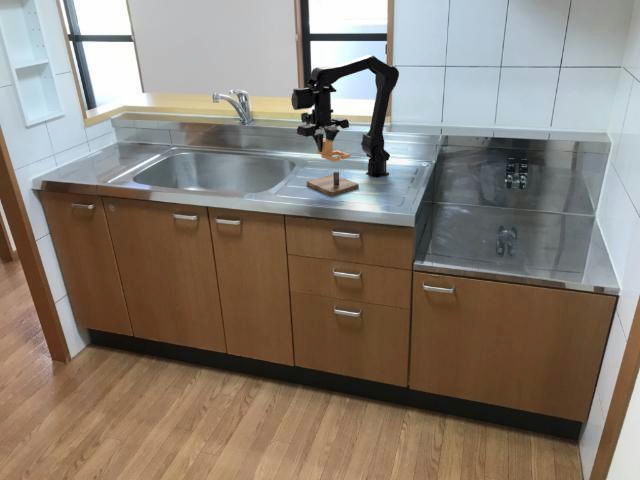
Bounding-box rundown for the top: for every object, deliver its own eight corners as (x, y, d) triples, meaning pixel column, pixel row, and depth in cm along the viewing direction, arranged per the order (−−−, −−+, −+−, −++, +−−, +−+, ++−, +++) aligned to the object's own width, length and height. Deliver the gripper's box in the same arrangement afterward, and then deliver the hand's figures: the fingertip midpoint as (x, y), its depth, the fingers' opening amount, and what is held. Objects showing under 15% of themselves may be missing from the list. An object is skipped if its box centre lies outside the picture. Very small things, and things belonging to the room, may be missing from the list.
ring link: (349, 157, 178) (349, 143, 175) (333, 162, 174) (333, 147, 172) (329, 150, 187) (328, 136, 184) (313, 154, 183) (312, 140, 181)
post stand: (358, 188, 183) (358, 171, 180) (331, 196, 177) (330, 179, 174) (333, 177, 194) (332, 162, 191) (306, 185, 188) (306, 169, 185)
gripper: (330, 99, 187) (331, 141, 194) (286, 107, 177) (290, 151, 184) (349, 103, 178) (350, 147, 185) (305, 112, 169) (307, 158, 176)
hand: (324, 150), depth 183 cm, fingers closed on ring link, 3 cm apart
